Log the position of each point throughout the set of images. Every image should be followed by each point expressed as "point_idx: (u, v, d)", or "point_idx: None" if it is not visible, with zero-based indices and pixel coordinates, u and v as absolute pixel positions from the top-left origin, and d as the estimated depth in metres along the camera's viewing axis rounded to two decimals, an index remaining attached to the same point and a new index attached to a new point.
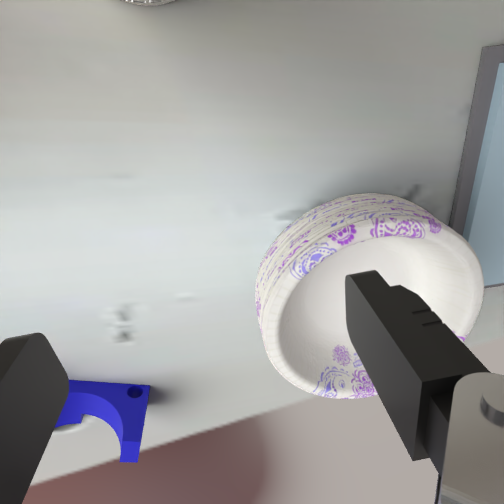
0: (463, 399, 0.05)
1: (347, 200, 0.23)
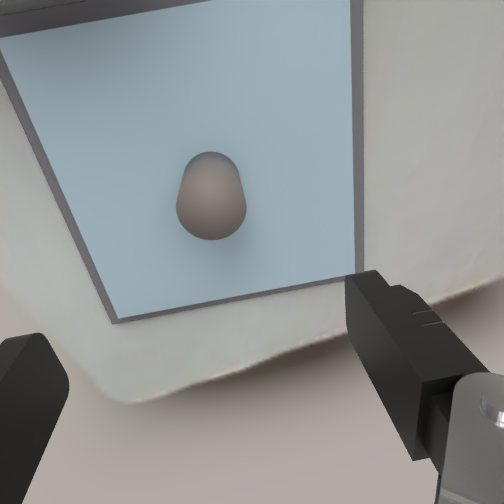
0: (463, 399, 0.05)
1: None
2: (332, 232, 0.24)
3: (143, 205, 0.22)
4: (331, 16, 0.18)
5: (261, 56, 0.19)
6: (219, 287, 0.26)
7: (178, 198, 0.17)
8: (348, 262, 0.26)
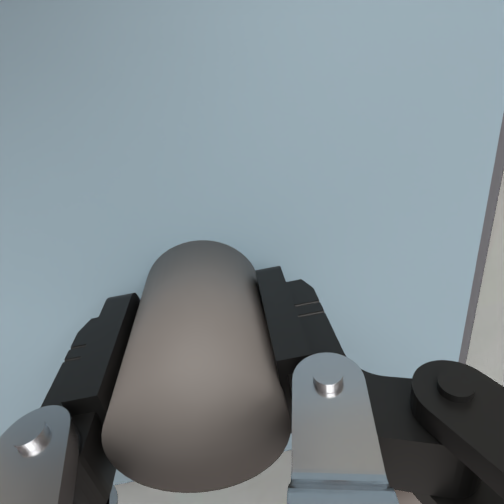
0: (300, 374, 0.06)
1: None
2: (420, 364, 0.14)
3: (69, 337, 0.11)
4: None
5: (318, 41, 0.08)
6: None
7: (107, 426, 0.06)
8: None
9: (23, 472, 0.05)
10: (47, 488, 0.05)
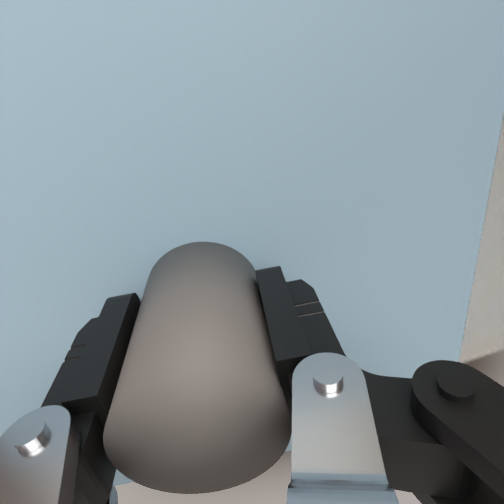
0: (300, 374, 0.06)
1: None
2: (420, 365, 0.14)
3: (69, 338, 0.11)
4: None
5: (318, 44, 0.08)
6: None
7: (108, 427, 0.06)
8: None
9: (25, 472, 0.05)
10: (47, 488, 0.05)
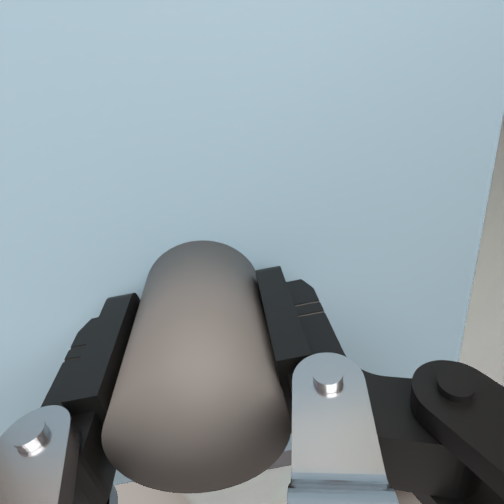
0: (300, 374, 0.06)
1: None
2: (420, 364, 0.14)
3: (68, 337, 0.11)
4: None
5: (318, 41, 0.08)
6: None
7: (107, 426, 0.06)
8: None
9: (23, 472, 0.05)
10: (47, 488, 0.05)
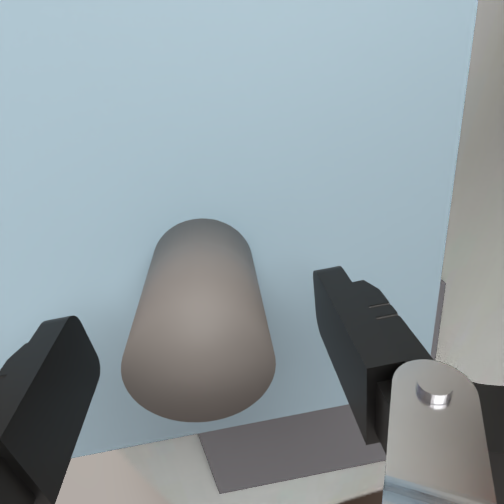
0: (400, 383, 0.06)
1: None
2: None
3: (83, 305, 0.13)
4: None
5: (302, 46, 0.10)
6: None
7: (125, 356, 0.08)
8: None
9: None
10: None
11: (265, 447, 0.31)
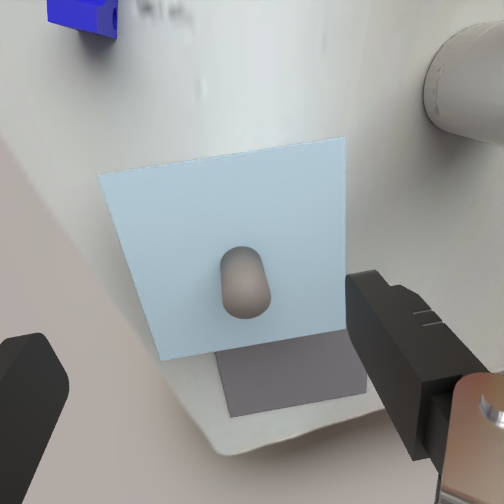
0: (463, 399, 0.05)
1: None
2: (329, 300, 0.32)
3: (189, 281, 0.29)
4: (332, 162, 0.26)
5: (282, 186, 0.27)
6: (241, 338, 0.33)
7: (224, 293, 0.24)
8: (340, 320, 0.33)
9: None
10: None
11: (262, 383, 0.48)
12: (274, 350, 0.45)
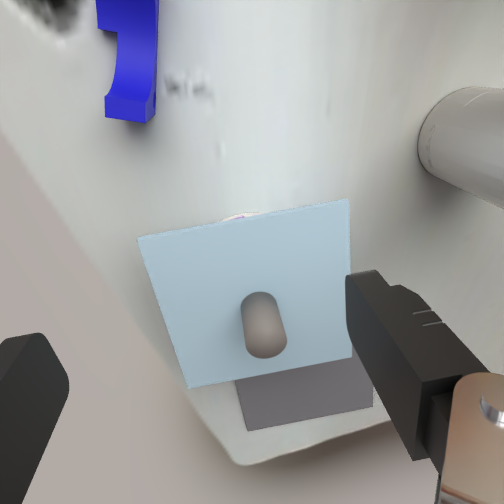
0: (463, 399, 0.05)
1: None
2: (336, 333, 0.36)
3: (213, 322, 0.34)
4: (337, 220, 0.30)
5: (294, 242, 0.31)
6: (258, 368, 0.37)
7: (247, 338, 0.29)
8: (347, 350, 0.37)
9: None
10: None
11: (276, 400, 0.52)
12: (287, 371, 0.49)
